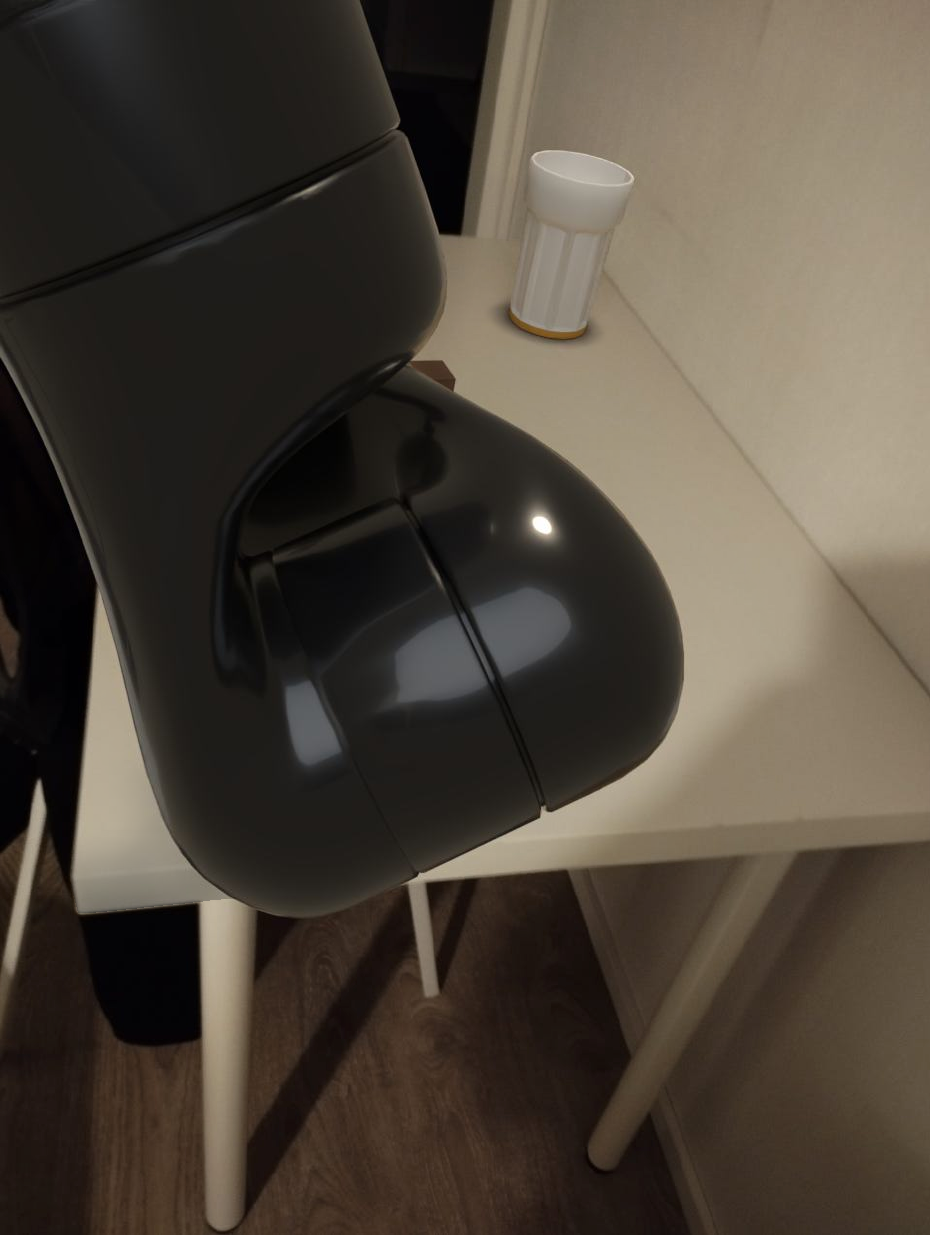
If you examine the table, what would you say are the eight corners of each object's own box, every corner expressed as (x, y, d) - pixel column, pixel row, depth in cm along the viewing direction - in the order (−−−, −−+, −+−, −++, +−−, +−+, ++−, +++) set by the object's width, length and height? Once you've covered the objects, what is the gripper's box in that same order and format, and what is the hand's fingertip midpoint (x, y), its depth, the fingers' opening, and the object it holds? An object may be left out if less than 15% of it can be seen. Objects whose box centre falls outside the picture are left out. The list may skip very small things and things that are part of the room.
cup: (487, 299, 118) (515, 145, 107) (572, 302, 122) (609, 154, 111) (519, 343, 110) (553, 181, 99) (609, 344, 114) (652, 189, 103)
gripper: (475, 206, 31) (339, 68, 42) (-25, 181, 26) (-31, 31, 37) (439, 416, 36) (325, 243, 47) (11, 432, 31) (-4, 232, 42)
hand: (168, 150), depth 42 cm, fingers open, 8 cm apart
